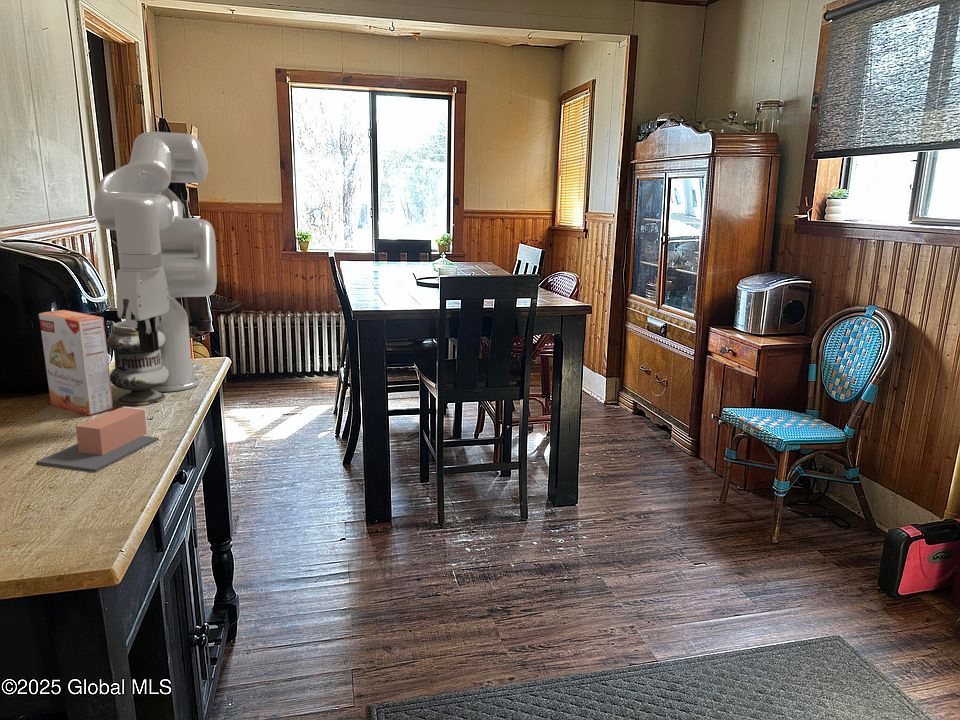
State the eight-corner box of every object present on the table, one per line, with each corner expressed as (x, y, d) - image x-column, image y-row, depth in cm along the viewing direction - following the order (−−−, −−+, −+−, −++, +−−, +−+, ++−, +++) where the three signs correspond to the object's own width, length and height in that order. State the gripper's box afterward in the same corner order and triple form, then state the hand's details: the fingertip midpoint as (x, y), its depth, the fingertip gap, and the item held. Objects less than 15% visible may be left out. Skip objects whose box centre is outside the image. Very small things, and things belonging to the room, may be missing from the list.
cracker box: (48, 405, 146) (36, 312, 141) (75, 398, 151) (65, 308, 146) (87, 417, 140) (76, 320, 134) (114, 409, 145) (105, 315, 140)
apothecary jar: (134, 410, 144) (125, 330, 140) (100, 401, 150) (91, 323, 146) (182, 397, 155) (175, 321, 150) (149, 389, 160) (142, 316, 156)
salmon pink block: (123, 406, 130) (75, 426, 119) (146, 409, 129) (99, 429, 118) (126, 430, 131) (78, 452, 120) (148, 433, 130) (102, 455, 119)
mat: (105, 433, 131) (105, 431, 130) (158, 440, 128) (158, 437, 128) (36, 464, 115) (36, 461, 115) (95, 472, 113) (95, 469, 113)
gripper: (150, 254, 137) (158, 339, 143) (95, 265, 123) (106, 358, 129) (182, 257, 136) (188, 343, 141) (130, 268, 122) (140, 363, 127)
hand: (149, 350), depth 135 cm, fingers closed
